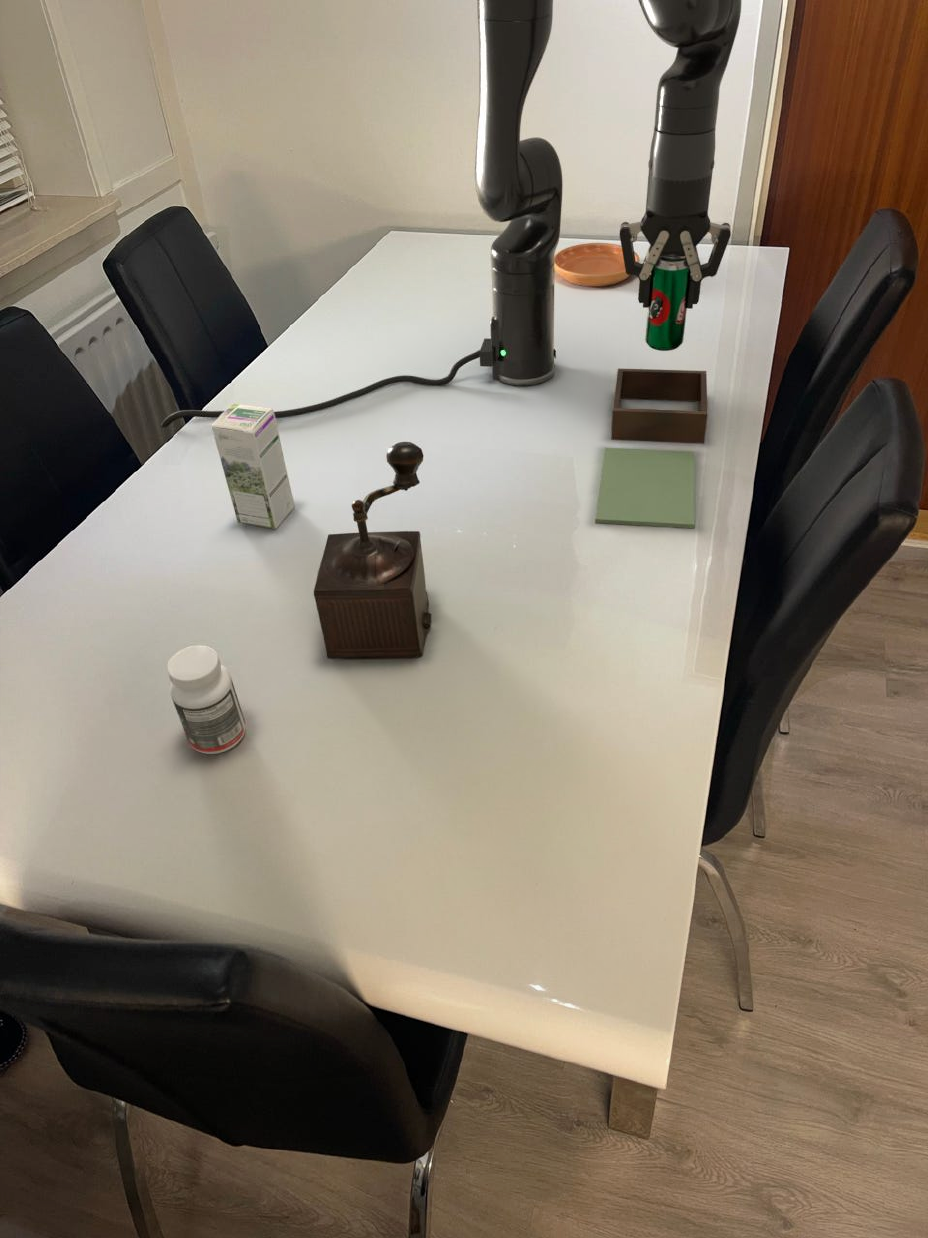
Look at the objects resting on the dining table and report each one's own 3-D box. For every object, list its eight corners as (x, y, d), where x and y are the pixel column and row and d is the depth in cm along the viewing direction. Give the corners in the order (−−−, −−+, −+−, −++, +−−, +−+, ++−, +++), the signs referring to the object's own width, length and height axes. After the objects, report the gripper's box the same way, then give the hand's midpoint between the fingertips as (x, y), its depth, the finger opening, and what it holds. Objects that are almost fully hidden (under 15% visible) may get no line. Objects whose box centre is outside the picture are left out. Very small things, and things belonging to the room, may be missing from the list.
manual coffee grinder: (428, 659, 99) (412, 518, 87) (325, 660, 99) (295, 521, 88) (437, 568, 110) (424, 433, 99) (345, 570, 111) (321, 436, 99)
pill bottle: (192, 716, 94) (166, 643, 88) (249, 710, 95) (227, 637, 88) (185, 759, 90) (156, 686, 84) (244, 753, 90) (220, 680, 84)
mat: (594, 522, 116) (595, 518, 115) (604, 451, 128) (604, 447, 128) (694, 528, 113) (695, 524, 113) (694, 455, 126) (694, 451, 126)
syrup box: (296, 506, 122) (275, 405, 113) (275, 531, 118) (251, 429, 109) (258, 500, 124) (233, 400, 114) (235, 525, 120) (208, 424, 110)
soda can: (682, 353, 124) (692, 263, 116) (643, 351, 125) (651, 261, 117) (683, 336, 128) (693, 248, 120) (645, 335, 129) (653, 247, 121)
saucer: (643, 287, 169) (644, 271, 167) (555, 292, 170) (555, 276, 168) (632, 255, 181) (633, 240, 179) (550, 260, 182) (550, 244, 180)
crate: (611, 439, 130) (612, 410, 127) (616, 396, 140) (617, 368, 137) (703, 443, 128) (707, 413, 125) (703, 399, 137) (706, 370, 134)
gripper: (741, 158, 113) (722, 295, 125) (621, 158, 116) (614, 292, 127) (744, 178, 108) (724, 319, 119) (618, 177, 110) (610, 316, 122)
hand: (667, 305), depth 123 cm, fingers closed on soda can, 5 cm apart
